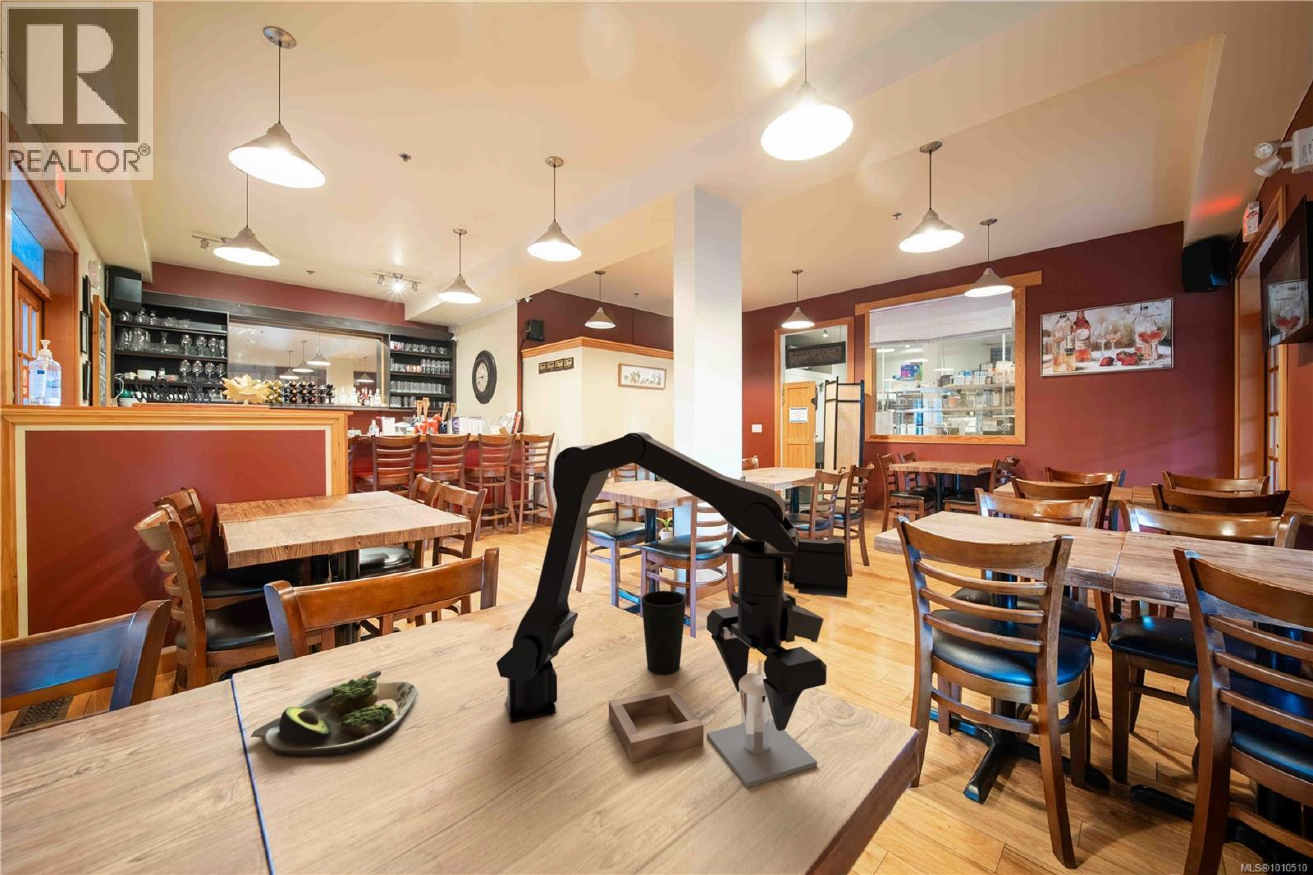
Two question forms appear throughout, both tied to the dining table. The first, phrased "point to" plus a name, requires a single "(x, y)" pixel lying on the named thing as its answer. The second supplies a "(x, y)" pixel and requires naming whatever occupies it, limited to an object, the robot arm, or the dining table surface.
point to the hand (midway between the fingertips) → (759, 709)
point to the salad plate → (339, 719)
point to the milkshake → (755, 712)
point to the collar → (656, 740)
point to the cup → (663, 630)
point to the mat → (761, 755)
